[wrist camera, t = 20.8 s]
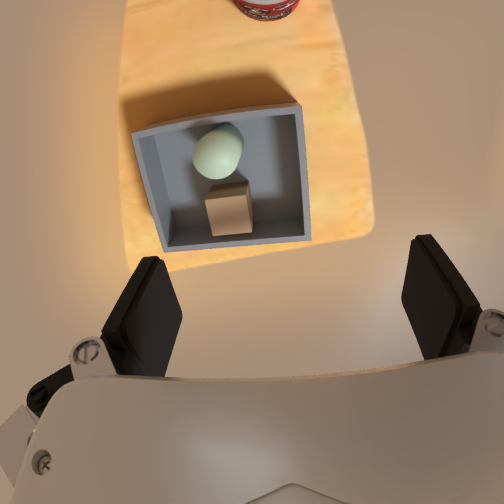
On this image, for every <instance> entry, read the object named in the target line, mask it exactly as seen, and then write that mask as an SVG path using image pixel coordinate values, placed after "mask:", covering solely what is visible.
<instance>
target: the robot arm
mask: <svg viewBox="0 0 504 504" xmlns="http://www.w3.org/2000/svg"><path fill="white" fill-rule="evenodd" d="M401 299H402V304H403V307H404V309H405V311H406V314H407V316H408V319H409V321H410V324H411V326H412V329H413V331H414V334H415V336H416V339H417V341H418V344H419V346H420V349H421V352H422V355H423V357H424V361H418V362H412V363H406V364H400V365H394V366H387V367H381V368H373V369H366V370H358V371H349V372H340V373H331V374H319V375H307V376H291V377H272V378H232V379H229V378H226V379H225V378H224V379H223V378H222V379H218V378H217V379H216V378H214V379H213V378H177V377H165V373H166V370H167V366H168V363H169V360H170V357H171V353H172V350H173V347H174V344H175V340H176V337H177V334H178V331H179V327H180V324H181V321H182V311H181V308H180V305H179V303H178V300H177V297H176V294H175V292H174V289H173V286H172V283H171V280H170V277H169V274H168V271H167V268H166V265H165V263H164V261H163V260H162V259H160V258H159V257H158V256H150V257H143V258H142V259H141V261H140V263H139V264H138V266H137V268H136V270H135V271H134V273H133V275H132V276H131V278H130V280H129V282H128V283H127V285H126V287H125V289H124V290H123V292H122V294H121V296H120V297H119V299H118V301H117V303H116V305H115V306H114V308H113V310H112V312H111V314H110V316H109V318H108V319H107V321H106V323H105V325H104V327H103V329H102V331H101V332H102V335H101V337H100V338H98V337H87V338H85V339H82V340H81V341H79V342H78V343H77V344H76V345H75V346H74V347H73V348H72V350H71V352H70V355H69V361H70V364H69V365H67V366H65V367H64V368H62V369H60V370H59V371H57V372H55V373H54V374H52V375H50V376H49V377H47V378H45V379H43V380H42V381H40V382H38V383H37V384H35V385H34V386H33V387H32V388H31V390H30V391H29V393H28V395H27V405H26V406H24V405H23V404H22V405H21V406H20V407H19V408H18V409H17V410H16V411H15V412H14V413H13V414H12V415H11V416H10V417H9V418H8V419H7V420H6V421H5V422H4V423H3V424H2V425H1V426H0V464H1V466H2V468H3V470H4V472H5V473H6V475H7V477H8V479H9V480H10V482H11V484H12V485H13V487H14V491H13V495H12V499H11V503H10V504H504V312H502V311H500V310H496V309H487V310H484V311H482V309H481V307H480V303H479V302H478V300H477V298H476V297H475V295H474V294H473V292H472V291H471V289H470V288H469V286H468V285H467V283H466V282H465V280H464V279H463V277H462V276H461V274H460V273H459V272H458V270H457V269H456V267H455V266H454V264H453V263H452V262H451V260H450V259H449V257H448V256H447V255H446V253H445V252H444V251H443V249H442V248H441V247H440V245H439V244H438V243H437V242H436V240H435V239H434V238H433V237H432V235H431V234H426V235H417V236H416V238H415V239H413V240H412V241H411V246H410V252H409V258H408V264H407V269H406V275H405V280H404V285H403V291H402V296H401Z"/></svg>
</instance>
